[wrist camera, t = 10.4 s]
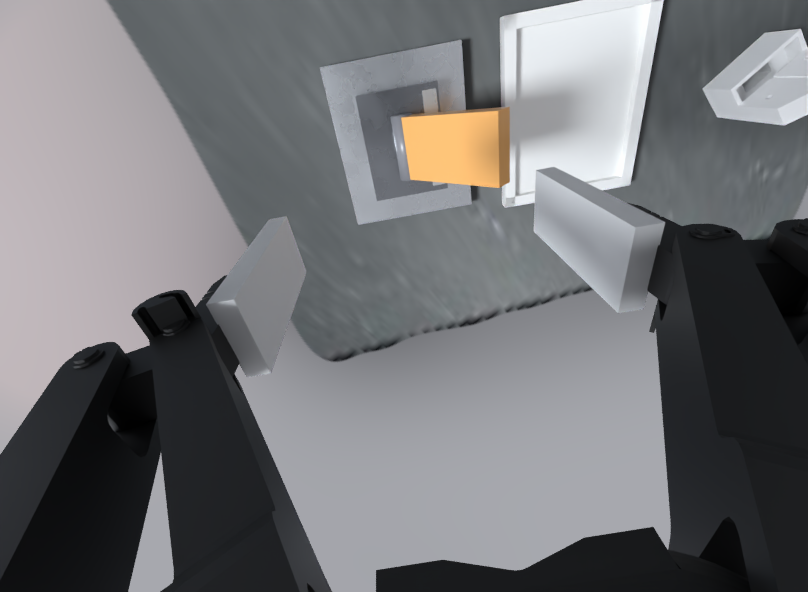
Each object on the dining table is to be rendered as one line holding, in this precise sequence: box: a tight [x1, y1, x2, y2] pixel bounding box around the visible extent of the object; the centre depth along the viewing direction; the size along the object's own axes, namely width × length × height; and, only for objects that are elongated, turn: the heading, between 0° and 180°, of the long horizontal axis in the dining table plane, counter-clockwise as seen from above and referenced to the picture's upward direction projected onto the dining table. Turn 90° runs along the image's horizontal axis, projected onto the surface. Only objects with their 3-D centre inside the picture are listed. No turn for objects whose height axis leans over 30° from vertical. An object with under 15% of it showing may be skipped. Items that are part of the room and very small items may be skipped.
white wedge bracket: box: [703, 29, 808, 125], centre depth 30 cm, size 4×10×9 cm, turn 138°
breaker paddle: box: [390, 107, 510, 188], centre depth 28 cm, size 5×2×11 cm
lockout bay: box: [500, 0, 664, 208], centre depth 33 cm, size 16×13×1 cm
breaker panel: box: [320, 40, 472, 225], centre depth 33 cm, size 14×12×2 cm
